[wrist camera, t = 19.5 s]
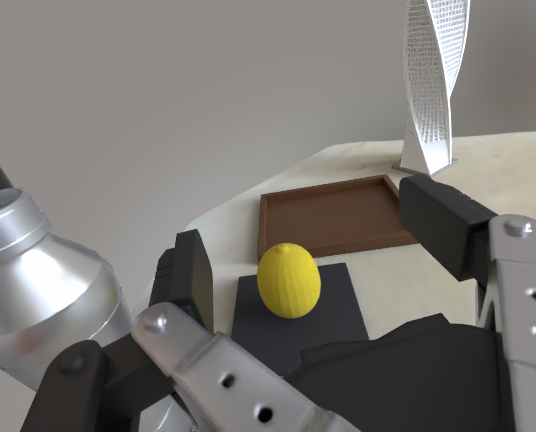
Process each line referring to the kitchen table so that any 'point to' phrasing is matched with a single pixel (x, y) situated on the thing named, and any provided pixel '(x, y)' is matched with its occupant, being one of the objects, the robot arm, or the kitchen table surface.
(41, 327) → the silver metal flask
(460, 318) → the kitchen table surface
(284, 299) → the lemon
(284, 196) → the tray
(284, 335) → the plate
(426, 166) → the skyscraper
